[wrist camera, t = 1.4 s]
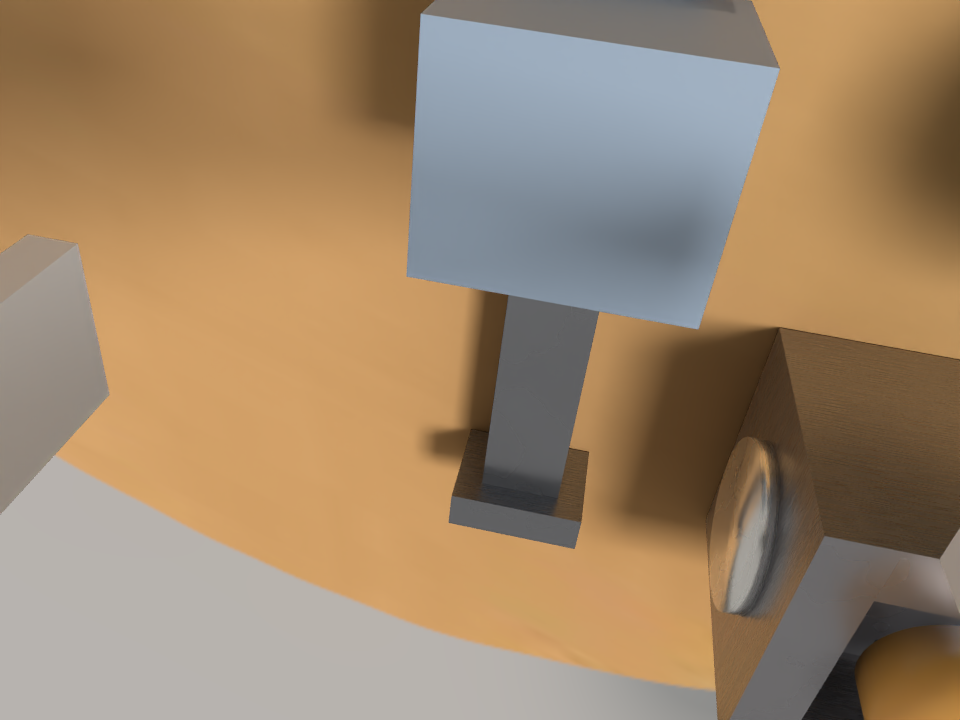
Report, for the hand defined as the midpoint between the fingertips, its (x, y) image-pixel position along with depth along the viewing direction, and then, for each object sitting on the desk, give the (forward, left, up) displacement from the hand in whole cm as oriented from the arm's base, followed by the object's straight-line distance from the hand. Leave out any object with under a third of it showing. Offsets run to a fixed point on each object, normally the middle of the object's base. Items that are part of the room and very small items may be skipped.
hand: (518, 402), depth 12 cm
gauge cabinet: (+13, +13, -17) cm, 25 cm away
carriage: (0, 0, -17) cm, 17 cm away
